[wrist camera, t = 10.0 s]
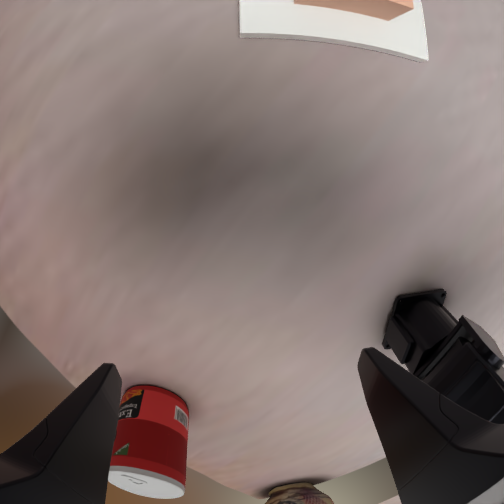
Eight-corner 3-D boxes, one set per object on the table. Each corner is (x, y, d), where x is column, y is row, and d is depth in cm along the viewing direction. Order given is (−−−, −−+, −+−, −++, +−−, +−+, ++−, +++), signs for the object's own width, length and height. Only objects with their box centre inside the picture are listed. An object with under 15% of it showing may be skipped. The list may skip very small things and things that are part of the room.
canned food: (131, 373, 27) (108, 463, 17) (200, 399, 29) (197, 488, 19) (117, 406, 29) (98, 482, 19) (176, 427, 31) (171, 503, 22)
